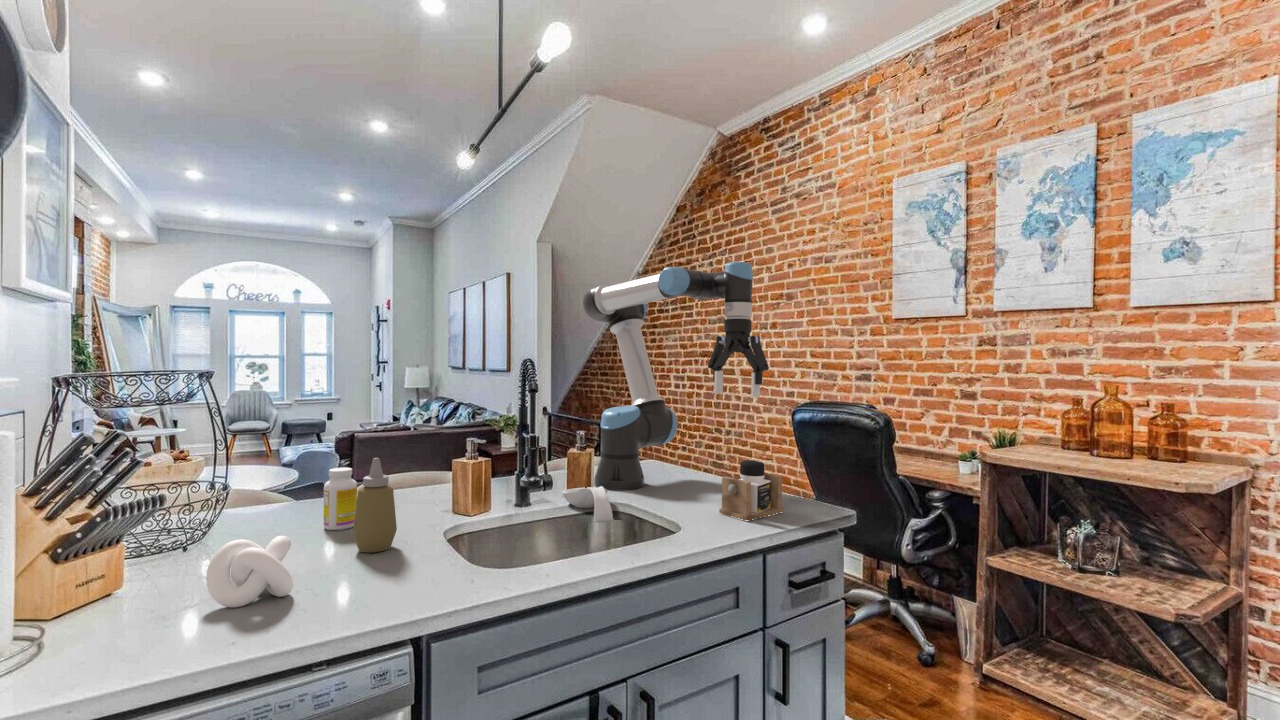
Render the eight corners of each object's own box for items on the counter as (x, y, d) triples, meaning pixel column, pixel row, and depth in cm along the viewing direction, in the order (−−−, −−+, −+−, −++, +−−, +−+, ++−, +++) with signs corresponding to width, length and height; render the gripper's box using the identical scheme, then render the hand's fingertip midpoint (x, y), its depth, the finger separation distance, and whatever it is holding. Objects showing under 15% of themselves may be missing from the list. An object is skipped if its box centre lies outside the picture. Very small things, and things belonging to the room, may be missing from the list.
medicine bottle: (757, 513, 145) (758, 464, 145) (732, 508, 150) (732, 461, 150) (771, 508, 151) (771, 461, 151) (745, 503, 155) (746, 457, 155)
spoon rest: (557, 501, 160) (557, 474, 160) (599, 498, 164) (599, 472, 164) (580, 525, 138) (581, 494, 138) (628, 521, 142) (629, 491, 142)
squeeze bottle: (380, 557, 114) (381, 463, 114) (343, 553, 115) (344, 460, 115) (405, 544, 122) (406, 456, 122) (369, 541, 123) (371, 454, 123)
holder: (717, 513, 149) (718, 477, 149) (757, 505, 159) (757, 470, 158) (745, 522, 142) (746, 483, 142) (784, 512, 152) (785, 476, 151)
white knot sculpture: (239, 583, 100) (239, 529, 100) (313, 581, 101) (314, 529, 101) (195, 612, 89) (196, 552, 89) (280, 610, 90) (280, 551, 90)
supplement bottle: (362, 523, 136) (363, 467, 136) (345, 531, 129) (346, 472, 129) (335, 521, 136) (335, 465, 136) (316, 530, 130) (317, 471, 130)
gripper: (696, 319, 172) (695, 392, 173) (764, 316, 153) (763, 398, 153) (714, 320, 177) (713, 392, 177) (783, 317, 158) (781, 397, 158)
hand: (736, 395), depth 165 cm, fingers open, 13 cm apart
